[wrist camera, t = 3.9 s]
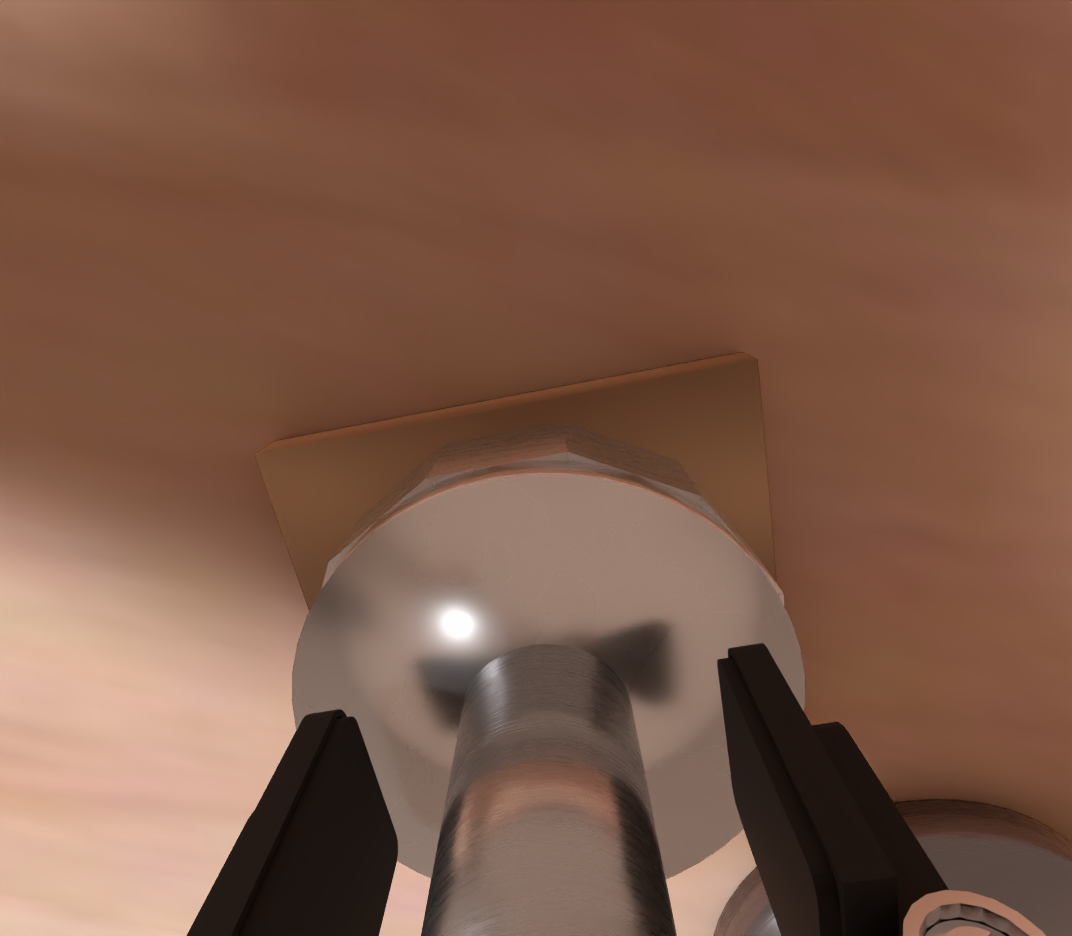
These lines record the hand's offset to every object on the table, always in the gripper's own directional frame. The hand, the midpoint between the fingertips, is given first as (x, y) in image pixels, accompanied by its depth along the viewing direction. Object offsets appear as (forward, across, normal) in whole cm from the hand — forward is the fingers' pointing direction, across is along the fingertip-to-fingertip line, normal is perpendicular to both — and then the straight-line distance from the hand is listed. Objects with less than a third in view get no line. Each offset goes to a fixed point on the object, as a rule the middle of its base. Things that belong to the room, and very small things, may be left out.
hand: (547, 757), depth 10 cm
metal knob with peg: (+4, 0, 0) cm, 4 cm away
